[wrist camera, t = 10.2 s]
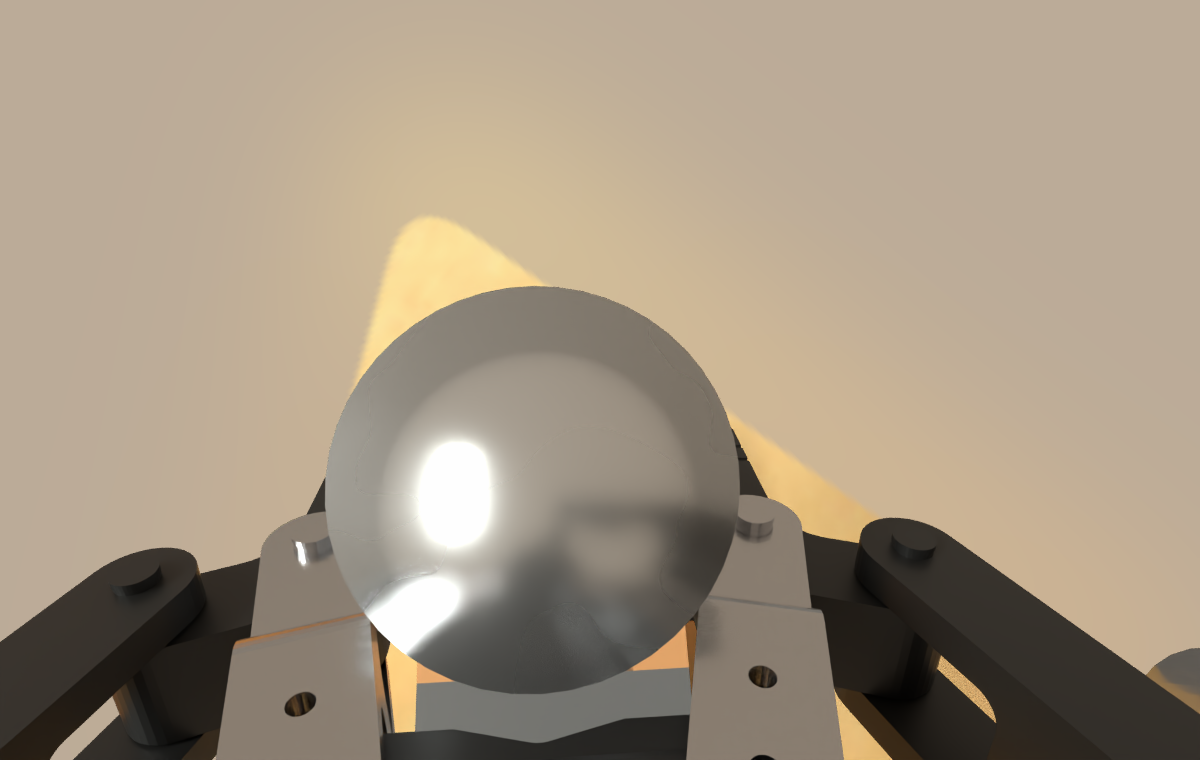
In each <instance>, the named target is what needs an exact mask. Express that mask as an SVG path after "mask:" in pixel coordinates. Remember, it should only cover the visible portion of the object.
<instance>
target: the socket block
mask: <svg viewBox="0 0 1200 760" xmlns="http://www.w3.org/2000/svg"><path fill="white" fill-rule="evenodd" d="M690 709H691V685H690V674H689V663H688V651H687V640H686V629H685V626H684V627H683V628H682V629H681V630H680V631H679V632H678V633H677V634H676V635H675V637H673V638H672V639H671V640H670V641H668V642H667V643H666V644H665V645H664V646H662V647H661V648H660V649H659V650H658V651H656V652H655V653H654V654H653V655H651V656H650V657H648V658H646V659H645V660H643V661H641V662H640V663H638V664H637V665H635V666H633V667H632V668H630V669H628V670H627V671H624V672H622V673H620V674H617V675H615V676H613V677H611V678H608V679H606V680H604V681H601V682H599V683H595V684H592V685H588V686H585V687H581V688H577V689H574V690H569V691H562V692H554V693H547V694H509V693H502V692H496V691H489V690H483V689H479V688H476V687H472V686H469V685H466V684H463V683H459V682H456V681H453V680H451V679H449V678H447V677H444V676H442V675H440V674H438V673H436V672H434V671H432V670H430V669H428V668H426V667H424V666H423V665H421V664H420V663H418V662H417V694H416V725H415V732H418V731H434V730H450V729H455V730H461V731H467V732H472V733H478V734H484V735H490V736H496V737H502V738H507V739H513V740H519V741H525V742H531V743H543V742H548V741H551V740H555V739H558V738H561V737H565V736H568V735H571V734H574V733H578V732H581V731H584V730H588V729H591V728H594V727H598V726H601V725H604V724H608V723H611V722H614V721H618V720H621V719H625V718H641V717H657V716H673V715H689V714H690Z"/></svg>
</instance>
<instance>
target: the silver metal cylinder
mask: <svg viewBox="0 0 1200 760" xmlns="http://www.w3.org/2000/svg"><path fill="white" fill-rule="evenodd" d="M739 495H740V479H739V462H738V457H737V451H736V446H735V441H734V436H733V433H732V430H731V427H730V424H729V421H728V418H727V415H726V412H725V410H724V408H723V406H722V403H721V401H720V399H719V397H718V395H717V393H716V391H715V389H714V388H713V386H712V384H711V383H710V381H709V380H708V378H707V377H706V375H705V373H704V372H703V370H702V369H701V368H700V366H699V365H698V364H697V363H696V362H695V360H694V359H693V358H692V357H691V356H690V354H689V353H688V352H687V351H686V350H685V349H684V348H683V347H682V346H681V345H680V344H679V343H678V342H677V341H676V340H675V339H673V337H671V336H670V335H669V334H668V333H667V332H666V331H664V330H663V329H661V328H660V327H659V326H657V325H656V324H655V323H653V322H652V321H651V320H649V319H648V318H646V317H644V316H642V315H641V314H639V313H637V312H635V311H634V310H632V309H630V308H628V307H626V306H624V305H621V304H619V303H616V302H614V301H611V300H609V299H607V298H604V297H601V296H597V295H593V294H590V293H587V292H583V291H578V290H572V289H565V288H559V287H540V286H528V287H515V288H506V289H501V290H495V291H490V292H485V293H481V294H478V295H475V296H472V297H469V298H466V299H463V300H460V301H457V302H455V303H453V304H451V305H449V306H446V307H444V308H442V309H440V310H438V311H436V312H434V313H433V314H431V315H429V316H428V317H426V318H424V319H423V320H421V321H419V322H418V323H416V324H415V325H413V326H412V327H411V328H409V329H408V330H407V331H406V332H404V333H403V334H402V335H401V336H399V337H398V338H397V339H395V340H394V341H393V342H392V343H391V344H390V345H389V346H388V347H387V348H386V349H385V350H384V351H383V352H382V353H381V354H380V355H379V356H378V357H377V358H376V360H375V361H374V362H373V364H372V365H371V366H370V367H369V369H368V370H367V371H366V373H365V374H364V375H363V376H362V378H361V379H360V381H359V382H358V384H357V386H356V387H355V389H354V391H353V393H352V394H351V396H350V398H349V399H348V401H347V403H346V405H345V408H344V410H343V412H342V415H341V417H340V419H339V422H338V424H337V426H336V430H335V433H334V437H333V440H332V444H331V447H330V451H329V457H328V464H327V470H326V477H325V509H326V517H327V525H328V533H329V537H330V540H331V544H332V548H333V551H334V555H335V559H336V561H337V564H338V566H339V568H340V571H341V573H342V575H343V578H344V580H345V582H346V585H347V587H348V588H349V590H350V592H351V593H352V595H353V596H354V598H355V600H356V601H357V603H358V605H359V606H360V608H361V610H362V611H363V612H364V613H365V614H366V616H367V617H368V618H369V619H370V621H371V622H372V623H373V624H374V625H375V627H376V628H377V629H378V630H379V631H380V632H381V633H382V634H383V635H384V636H385V637H386V638H387V639H388V640H389V641H391V642H392V643H393V644H394V645H395V646H396V647H397V648H398V649H399V650H401V651H402V652H403V653H405V654H406V655H408V656H409V657H411V658H412V659H414V660H415V661H417V662H418V663H420V664H421V665H423V666H424V667H426V668H428V669H430V670H432V671H434V672H436V673H438V674H440V675H442V676H444V677H447V678H449V679H451V680H453V681H456V682H459V683H463V684H466V685H469V686H472V687H476V688H479V689H483V690H489V691H496V692H502V693H509V694H547V693H554V692H562V691H569V690H574V689H577V688H581V687H585V686H588V685H592V684H595V683H599V682H601V681H604V680H606V679H608V678H611V677H613V676H615V675H617V674H620V673H622V672H624V671H627V670H628V669H630V668H632V667H633V666H635V665H637V664H638V663H640V662H641V661H643V660H645V659H646V658H648V657H650V656H651V655H653V654H654V653H655V652H656V651H658V650H659V649H660V648H661V647H662V646H664V645H665V644H666V643H667V642H668V641H670V640H671V639H672V638H673V637H675V635H676V634H677V633H678V632H679V631H680V630H681V629H682V628H683V627H684V626H685V625H686V624H687V623H688V621H689V620H690V619H691V618H692V617H693V616H694V615H695V613H696V612H697V611H698V609H699V608H700V606H701V605H702V603H703V602H704V601H705V599H706V598H707V596H708V595H709V593H710V592H711V590H712V588H713V586H714V584H715V582H716V580H717V578H718V576H719V574H720V573H721V571H722V569H723V566H724V564H725V561H726V558H727V555H728V552H729V550H730V547H731V544H732V541H733V536H734V531H735V527H736V522H737V517H738V508H739Z"/></svg>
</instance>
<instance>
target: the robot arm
mask: <svg viewBox="0 0 1200 760" xmlns="http://www.w3.org/2000/svg"><path fill="white" fill-rule="evenodd" d="M731 430H732V433H733V436H734V441H735V446H736V451H737V457H738V462H739V479H740V495H739V508H738V517H737V522H736V527H735V531H734V536H733V541H732V544H731V547H730V550H729V552H728V555H727V558H726V561H725V564H724V566H723V569H722V571H721V573H720V574H719V576H718V578H717V580H716V582H715V584H714V586H713V588H712V590H711V592H710V593H709V595H708V596H707V598H706V599H705V601H704V602H703V603H702V605H701V606H700V608H699V609H698V611H697V612H696V613H695V615H694V616H693V617H692V618H691V619H690V620H689V621H694V622H695V626H696V629H697V637H696V649H695V661H694V673H693V685H692V697H691V709H690V714H689V715H673V716H657V717H641V718H625V719H621V720H618V721H614V722H611V723H608V724H604V725H601V726H598V727H594V728H591V729H588V730H584V731H581V732H578V733H574V734H571V735H568V736H565V737H561V738H558V739H555V740H551V741H548V742H543V743H531V742H525V741H519V740H513V739H507V738H502V737H496V736H490V735H484V734H478V733H472V732H467V731H461V730H455V729H450V730H434V731H418V732H402V733H395V729H394V720H393V710H392V700H391V691H390V681H389V671H388V665H387V659H386V656H387V653H388V649H389V645H390V641H389V640H388V639H387V638H386V637H385V636H384V635H383V634H382V633H381V632H380V631H379V630H378V629H377V628H376V627H375V625H374V624H373V623H372V622H371V621H370V619H369V618H368V617H367V616H366V614H365V613H364V612H363V611H362V610H361V608H360V606H359V605H358V603H357V601H356V600H355V598H354V596H353V595H352V593H351V592H350V590H349V588H348V587H347V585H346V582H345V580H344V578H343V575H342V573H341V571H340V568H339V566H338V564H337V561H336V559H335V555H334V551H333V548H332V544H331V540H330V537H329V533H328V525H327V517H326V509H325V479H324V481H323V483H322V485H321V487H320V489H319V491H318V493H317V495H316V497H315V499H314V501H313V503H312V505H311V507H310V509H309V511H308V513H307V515H304V516H301V517H298V518H296V519H294V520H291V521H289V522H287V523H286V524H283V525H282V526H280V527H279V528H277V529H276V530H275V531H274V532H273V533H272V534H270V535H269V536H268V538H267V539H266V540H265V542H264V544H263V546H262V550H261V557H260V558H258V559H255V560H252V561H249V562H246V563H242V564H238V565H234V566H230V567H225V568H221V569H217V570H213V571H209V572H205V573H201V574H200V571H199V568H198V565H197V561H196V559H195V558H194V557H193V555H191V554H190V553H189V552H187V551H185V550H181V549H175V548H156V549H149V550H144V551H140V552H136V553H133V554H130V555H127V556H124V557H122V558H119V559H117V560H115V561H113V562H111V563H109V564H107V565H105V566H103V567H102V568H100V569H99V570H98V571H96V572H94V573H93V574H92V575H90V576H89V577H88V578H86V579H85V580H84V581H82V582H81V583H80V584H78V585H77V586H75V587H74V588H73V589H71V590H70V591H69V592H67V593H66V594H65V595H63V596H62V597H61V598H59V599H58V600H56V601H55V602H54V603H53V604H51V605H50V606H48V607H47V608H46V609H44V610H43V611H42V612H40V613H39V614H38V615H36V616H35V617H33V618H32V619H31V620H29V621H28V622H27V623H25V624H24V625H23V626H21V627H20V628H19V629H17V630H16V631H14V632H13V633H12V634H10V635H9V636H8V637H7V638H5V639H4V640H2V641H1V642H0V760H50V758H51V757H52V755H53V754H54V752H55V751H56V750H57V748H58V747H59V746H60V745H61V744H62V743H63V742H64V740H66V739H67V738H68V737H69V736H70V735H71V734H72V733H73V732H74V731H75V730H76V729H77V728H79V726H81V725H82V724H83V723H84V722H85V721H86V720H87V719H88V718H89V717H90V716H91V715H92V714H93V713H94V712H96V711H97V710H98V709H99V708H100V707H101V706H102V705H103V704H104V703H105V702H106V701H107V700H108V699H109V698H111V697H112V696H113V699H114V701H115V704H116V706H117V709H118V711H119V716H118V717H116V719H114V720H113V721H112V722H111V723H110V724H109V725H108V726H107V727H106V728H105V729H104V730H103V731H102V732H101V733H100V734H99V735H98V736H97V737H96V738H95V739H94V740H93V741H92V742H91V743H90V744H89V745H88V746H87V747H86V748H85V749H84V750H83V751H82V752H80V753H79V754H78V756H76V757H75V758H74V759H73V760H212V759H213V758H214V757H215V756H216V760H844V757H843V750H842V743H841V735H840V728H839V721H838V714H837V707H836V700H835V692H836V694H837V695H838V697H839V699H840V700H841V701H842V703H843V704H844V705H845V706H846V707H847V708H848V710H849V711H850V712H851V713H852V714H853V715H854V716H855V717H856V719H857V720H858V721H859V722H860V723H861V724H862V725H863V726H864V728H865V729H866V730H867V731H868V732H869V733H870V734H871V736H872V737H873V738H874V739H875V740H876V741H877V742H878V743H879V745H880V746H881V747H882V748H883V749H884V750H885V751H886V752H887V754H888V755H889V756H890V757H891V758H892V759H893V760H1200V648H1195V649H1188V650H1185V651H1182V652H1178V653H1176V654H1172V655H1170V656H1168V657H1167V658H1166V659H1164V660H1162V661H1161V662H1159V663H1158V664H1156V665H1155V666H1154V667H1153V668H1152V669H1151V670H1150V671H1149V673H1148V674H1147V675H1144V674H1143V673H1142V672H1140V671H1139V670H1137V669H1136V668H1135V667H1133V666H1131V665H1130V664H1129V663H1127V662H1126V661H1125V660H1123V659H1122V658H1120V657H1119V656H1118V655H1116V654H1115V653H1113V652H1112V651H1111V650H1109V649H1108V648H1106V647H1105V646H1103V645H1102V644H1101V643H1099V642H1098V641H1096V640H1095V639H1094V638H1092V637H1091V636H1090V635H1088V634H1087V633H1085V632H1084V631H1082V630H1081V629H1080V628H1078V627H1077V626H1075V625H1074V624H1073V623H1071V622H1070V621H1068V620H1067V619H1066V618H1064V617H1063V616H1061V615H1060V614H1059V613H1057V612H1056V611H1054V610H1053V609H1051V608H1050V607H1049V606H1047V605H1046V604H1045V603H1043V602H1042V601H1040V600H1039V599H1037V598H1036V597H1035V596H1033V595H1032V594H1030V593H1029V592H1027V591H1026V590H1025V589H1023V588H1022V587H1021V586H1019V585H1018V584H1016V583H1015V582H1014V581H1012V580H1011V579H1009V578H1008V577H1006V576H1005V575H1004V574H1002V573H1001V572H1000V571H998V570H997V569H995V568H994V567H992V566H991V565H990V564H988V563H987V562H985V561H984V560H983V559H981V558H980V557H978V556H977V555H976V554H974V553H973V552H971V551H970V550H968V549H967V548H966V547H964V546H963V545H962V544H960V543H959V542H957V541H956V540H954V539H953V538H952V537H950V536H949V535H947V534H946V533H944V532H943V531H941V530H939V529H937V528H935V527H933V526H930V525H928V524H925V523H922V522H919V521H914V520H910V519H903V518H883V519H879V520H875V521H873V522H871V523H869V524H867V525H866V526H865V527H864V528H863V530H862V532H861V535H860V540H859V543H854V542H848V541H842V540H836V539H830V538H824V537H820V536H816V535H812V534H809V533H806V532H804V531H802V526H801V522H800V520H799V518H798V517H797V515H796V514H795V513H794V512H793V511H792V510H791V509H789V508H788V507H786V506H785V505H783V504H781V503H779V502H777V501H775V500H772V499H769V498H768V497H767V495H766V493H765V491H764V490H763V488H762V486H761V484H760V482H759V480H758V478H757V476H756V474H755V472H754V470H753V468H752V466H751V464H750V462H749V461H747V456H746V454H745V452H744V450H743V448H741V444H740V442H739V440H738V439H737V437H736V435H735V433H734V431H733V429H731ZM941 655H942V656H943V657H944V658H945V659H946V660H947V661H948V662H949V663H950V664H952V665H953V666H954V667H955V668H956V669H957V670H958V671H959V672H960V673H962V674H963V675H964V676H965V677H966V678H967V679H968V680H969V681H971V682H972V683H973V684H974V685H975V686H976V687H977V688H978V689H979V690H980V691H981V692H982V693H983V694H984V696H985V697H986V698H987V700H988V701H989V703H990V705H991V707H992V709H993V712H994V715H995V718H996V723H995V722H994V721H993V720H992V719H991V718H990V717H989V716H988V715H986V714H985V713H984V712H983V711H982V710H981V709H980V708H979V707H978V706H977V705H976V704H975V703H973V702H972V701H971V700H970V699H969V698H968V697H967V696H966V695H965V694H964V693H963V692H962V691H960V690H959V689H958V688H957V687H956V686H955V685H954V684H953V683H952V682H951V681H950V680H949V679H947V678H946V677H945V676H944V675H943V674H942V673H941V672H940V671H939V670H938V669H937V667H938V664H939V660H940V657H941ZM834 689H835V692H834Z"/></svg>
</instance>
